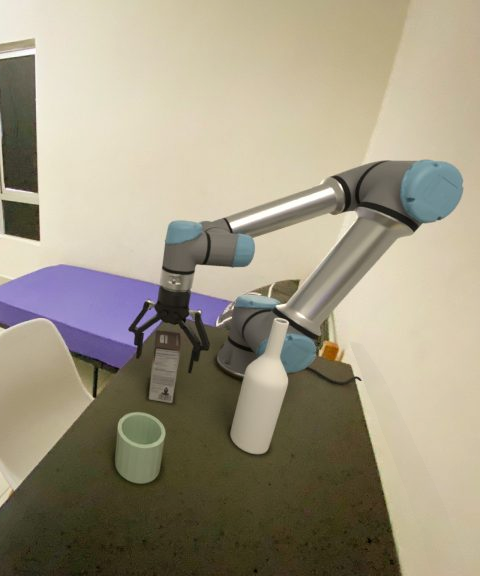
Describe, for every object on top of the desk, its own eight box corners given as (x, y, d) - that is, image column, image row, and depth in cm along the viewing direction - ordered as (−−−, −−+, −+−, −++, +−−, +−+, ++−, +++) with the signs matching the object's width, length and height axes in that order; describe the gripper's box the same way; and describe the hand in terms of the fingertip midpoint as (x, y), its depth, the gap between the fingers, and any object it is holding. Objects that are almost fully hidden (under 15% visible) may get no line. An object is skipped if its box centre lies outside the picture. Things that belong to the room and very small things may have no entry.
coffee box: (149, 379, 94) (156, 328, 89) (172, 382, 93) (180, 332, 88) (148, 400, 86) (154, 346, 80) (173, 404, 85) (181, 349, 79)
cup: (164, 454, 70) (169, 420, 67) (153, 491, 62) (159, 454, 59) (123, 439, 73) (126, 406, 70) (108, 472, 65) (110, 437, 62)
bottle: (261, 461, 70) (299, 335, 59) (223, 439, 75) (252, 319, 64) (273, 440, 75) (310, 321, 64) (238, 421, 80) (266, 308, 69)
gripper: (120, 281, 80) (113, 357, 88) (230, 303, 71) (212, 385, 79) (130, 273, 87) (123, 344, 94) (231, 292, 78) (214, 369, 85)
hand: (163, 363), depth 87 cm, fingers open, 13 cm apart
